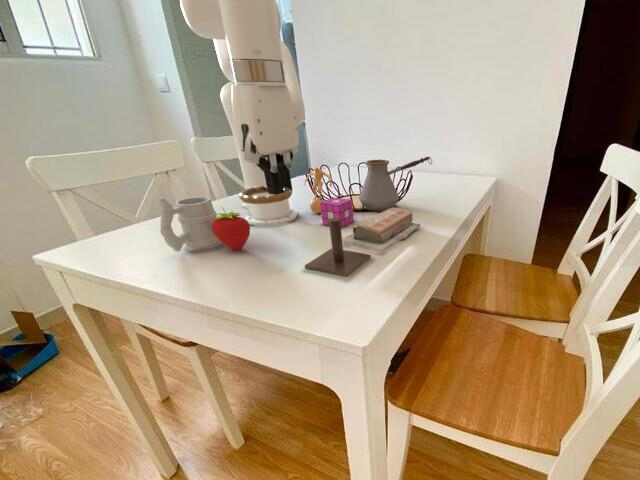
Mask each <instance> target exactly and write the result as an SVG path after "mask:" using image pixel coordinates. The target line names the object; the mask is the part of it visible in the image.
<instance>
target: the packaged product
mask: <svg viewBox="0 0 640 480" xmlns="http://www.w3.org/2000/svg"><path fill="white" fill-rule="evenodd" d="M413 220H414V219H413V212H412V211H410V210H409V209H405V208H401V207H392V208H390V209H387V210H385V211H380V212H379V213H377V214H375V215H372V216H371V217H368V218H367V219H364V220H363V221H360V222H358V223H356V224H355V225H353V227H352V233H351V234H349V235H347V236H345V237H342V244H344V245H348V246H352V247H356V248H360V249H363V250H364V249H365V250H368V251H373V252H377V253H382V252H384V251H385V250H387V249H388V248H389V247H391V246H392V245H394V244H396V243H397V242H399V241H402V240H404V239H406V238H408V237H409V235H410V234H411V233H412V232H414V231H415V230H417V229H419V228H420V227H421V223H417V222H413Z"/></svg>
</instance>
